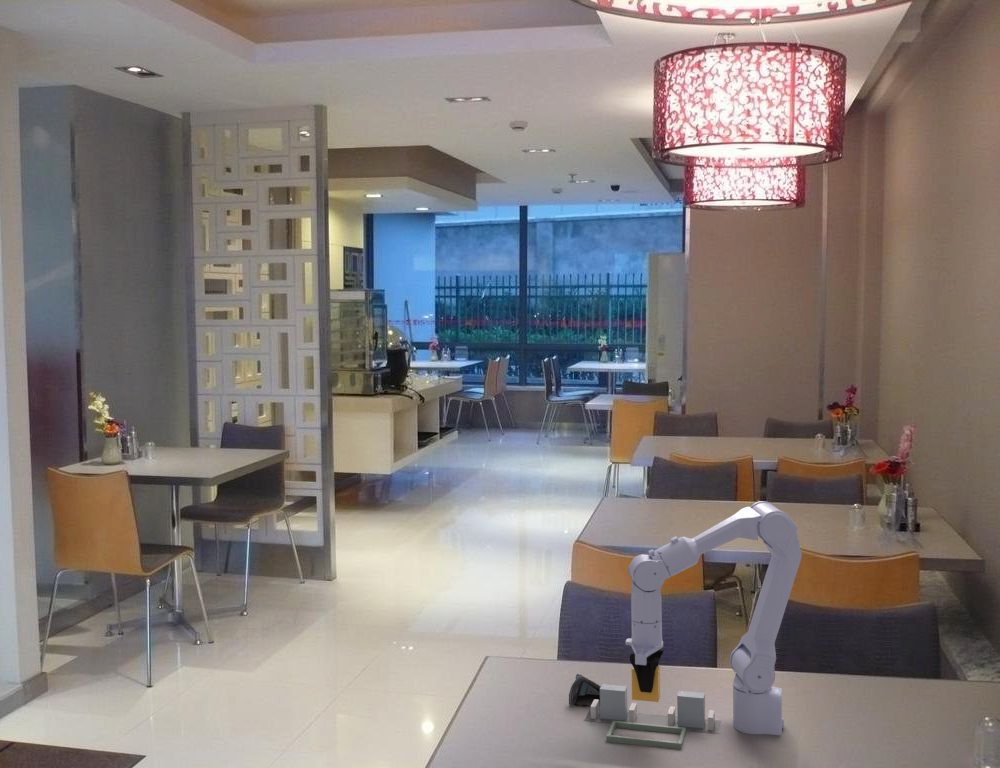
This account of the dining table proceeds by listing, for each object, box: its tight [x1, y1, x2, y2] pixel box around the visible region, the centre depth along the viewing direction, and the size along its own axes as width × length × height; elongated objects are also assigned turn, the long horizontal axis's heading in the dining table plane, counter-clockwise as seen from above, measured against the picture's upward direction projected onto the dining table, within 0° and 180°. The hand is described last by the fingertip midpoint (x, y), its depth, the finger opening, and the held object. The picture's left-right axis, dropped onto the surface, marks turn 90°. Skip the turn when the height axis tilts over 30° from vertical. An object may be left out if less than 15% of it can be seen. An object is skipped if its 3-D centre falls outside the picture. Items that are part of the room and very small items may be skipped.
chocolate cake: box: [568, 673, 628, 708], centre depth 210 cm, size 10×7×12 cm
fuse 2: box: [676, 690, 706, 728], centre depth 197 cm, size 5×3×6 cm, turn 73°
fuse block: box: [583, 698, 722, 735], centre depth 199 cm, size 26×6×4 cm, turn 73°
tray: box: [605, 721, 687, 750], centre depth 192 cm, size 14×7×2 cm, turn 73°
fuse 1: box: [599, 683, 629, 721], centre depth 201 cm, size 5×3×6 cm, turn 73°
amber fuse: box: [631, 665, 661, 703], centre depth 194 cm, size 5×3×6 cm, turn 72°
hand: (647, 688), depth 194 cm, fingers closed on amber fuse, 3 cm apart
